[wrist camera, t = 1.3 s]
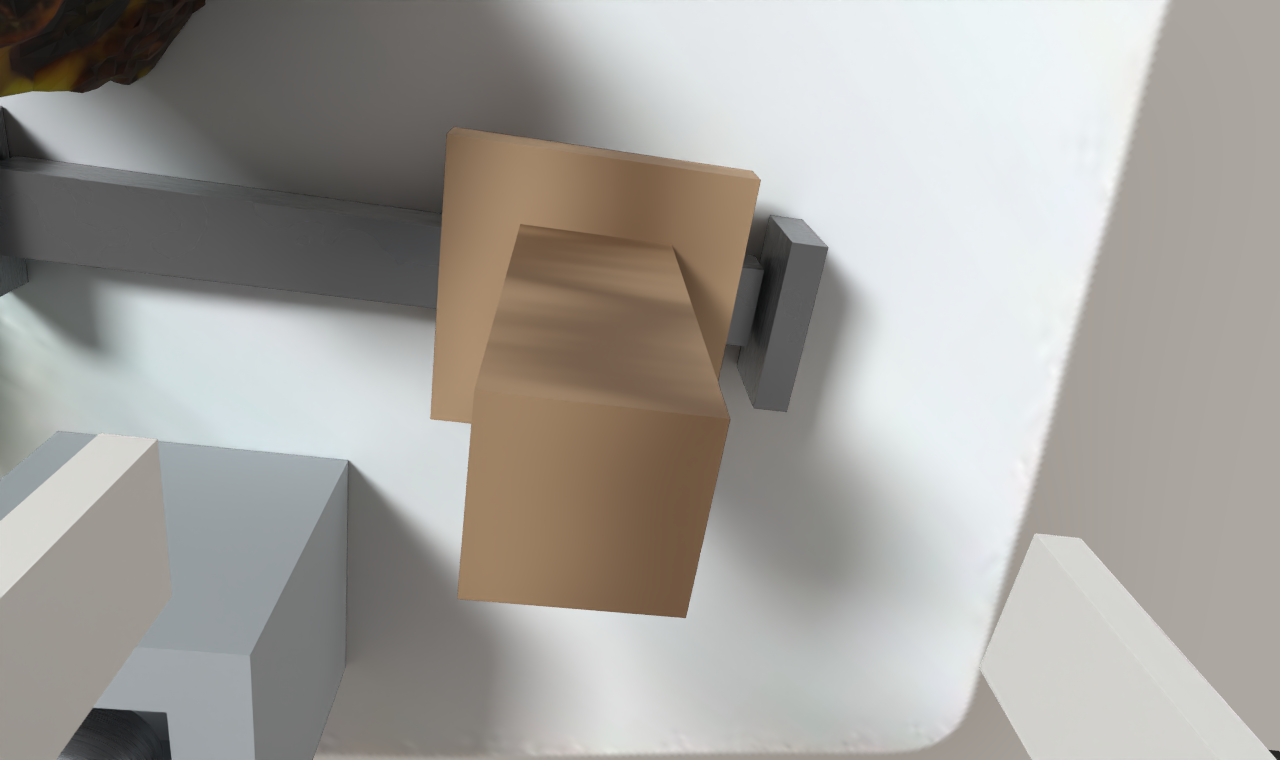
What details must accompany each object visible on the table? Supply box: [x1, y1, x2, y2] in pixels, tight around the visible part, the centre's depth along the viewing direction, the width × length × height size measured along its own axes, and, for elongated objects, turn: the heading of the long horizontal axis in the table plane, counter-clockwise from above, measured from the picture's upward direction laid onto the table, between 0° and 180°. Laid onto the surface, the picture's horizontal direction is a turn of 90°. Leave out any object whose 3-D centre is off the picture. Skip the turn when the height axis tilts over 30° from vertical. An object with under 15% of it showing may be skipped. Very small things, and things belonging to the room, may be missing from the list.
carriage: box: [430, 127, 761, 618], centre depth 20 cm, size 8×8×13 cm
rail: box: [0, 106, 828, 412], centre depth 24 cm, size 23×5×3 cm, turn 81°
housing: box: [0, 431, 348, 760], centre depth 25 cm, size 9×9×9 cm
